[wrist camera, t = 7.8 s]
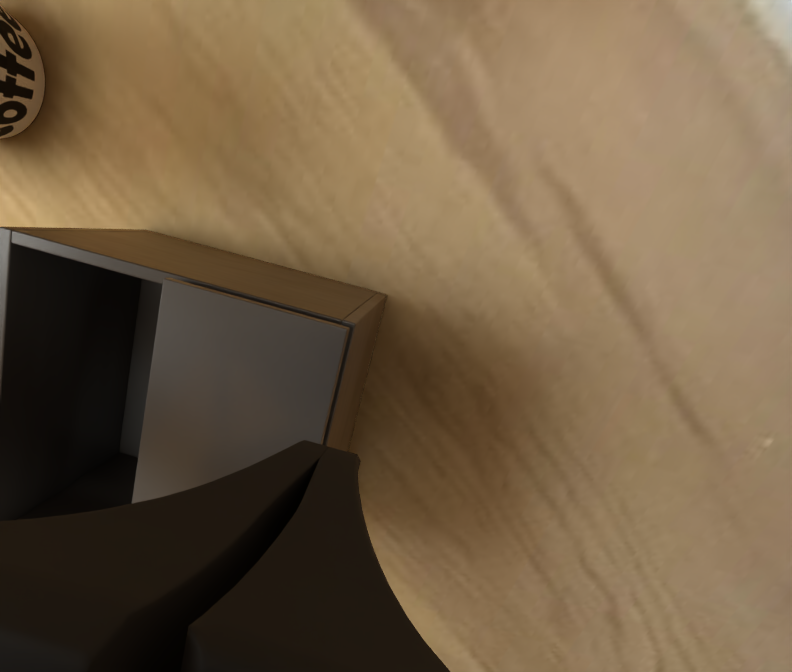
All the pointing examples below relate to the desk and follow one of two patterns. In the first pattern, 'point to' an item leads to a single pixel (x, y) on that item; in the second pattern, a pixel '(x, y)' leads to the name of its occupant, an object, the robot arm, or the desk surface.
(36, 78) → the cup
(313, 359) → the flap
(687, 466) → the desk surface
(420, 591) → the desk surface
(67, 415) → the carton
